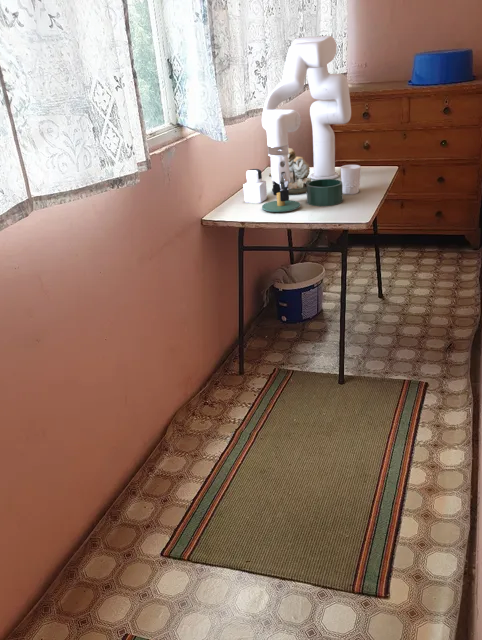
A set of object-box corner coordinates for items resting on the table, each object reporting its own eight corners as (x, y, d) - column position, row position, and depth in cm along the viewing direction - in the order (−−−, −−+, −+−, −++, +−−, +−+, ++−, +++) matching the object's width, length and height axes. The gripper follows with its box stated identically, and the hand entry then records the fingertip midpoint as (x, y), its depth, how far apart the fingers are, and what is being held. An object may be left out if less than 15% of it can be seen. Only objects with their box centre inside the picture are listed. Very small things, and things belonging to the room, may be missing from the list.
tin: (302, 199, 240) (301, 181, 237) (335, 195, 243) (334, 177, 239) (313, 207, 229) (313, 189, 225) (347, 203, 232) (347, 184, 228)
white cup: (359, 194, 241) (359, 168, 236) (339, 194, 243) (339, 169, 238) (361, 189, 248) (361, 164, 243) (341, 190, 250) (341, 164, 244)
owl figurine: (266, 195, 250) (263, 151, 241) (273, 188, 260) (270, 146, 251) (309, 194, 246) (308, 150, 237) (314, 187, 256) (313, 145, 247)
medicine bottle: (251, 198, 248) (248, 167, 242) (267, 198, 245) (265, 167, 239) (244, 202, 242) (241, 171, 236) (260, 203, 240) (258, 172, 233)
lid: (258, 206, 236) (256, 191, 233) (293, 201, 239) (293, 186, 236) (267, 215, 224) (266, 200, 221) (305, 210, 227) (304, 194, 224)
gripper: (295, 153, 214) (297, 201, 223) (281, 145, 229) (284, 191, 238) (274, 156, 213) (278, 204, 222) (262, 147, 227) (265, 193, 236)
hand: (281, 197), depth 230 cm, fingers open, 9 cm apart
